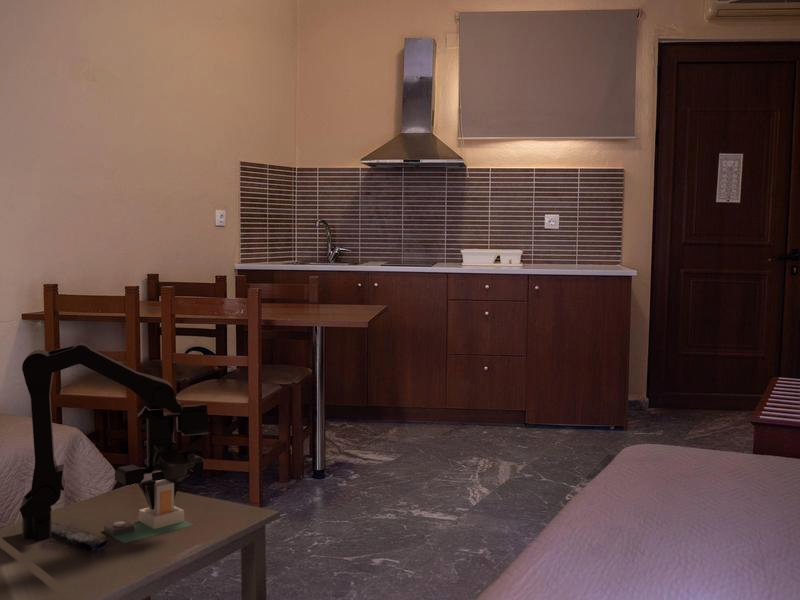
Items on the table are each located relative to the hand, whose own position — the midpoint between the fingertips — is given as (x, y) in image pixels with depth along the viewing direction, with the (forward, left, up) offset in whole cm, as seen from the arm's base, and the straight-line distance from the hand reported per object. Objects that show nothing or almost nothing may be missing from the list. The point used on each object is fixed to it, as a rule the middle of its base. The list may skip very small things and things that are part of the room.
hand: (161, 507), depth 177 cm
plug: (0, 0, -2) cm, 2 cm away
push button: (0, -9, -4) cm, 10 cm away
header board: (+2, -4, -4) cm, 6 cm away
